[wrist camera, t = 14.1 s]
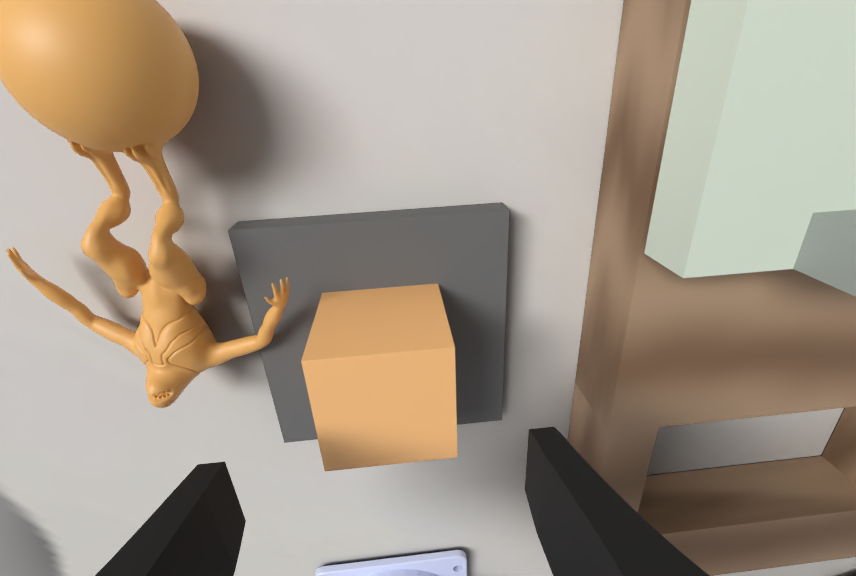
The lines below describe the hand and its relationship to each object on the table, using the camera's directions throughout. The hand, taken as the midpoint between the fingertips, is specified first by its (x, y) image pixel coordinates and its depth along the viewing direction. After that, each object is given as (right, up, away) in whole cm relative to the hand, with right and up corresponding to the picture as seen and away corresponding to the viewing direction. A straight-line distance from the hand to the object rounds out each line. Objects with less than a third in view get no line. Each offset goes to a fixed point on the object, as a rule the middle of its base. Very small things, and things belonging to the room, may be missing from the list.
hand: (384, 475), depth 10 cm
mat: (-1, +3, +6) cm, 7 cm away
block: (0, +3, +5) cm, 6 cm away
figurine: (-6, +12, +1) cm, 14 cm away
